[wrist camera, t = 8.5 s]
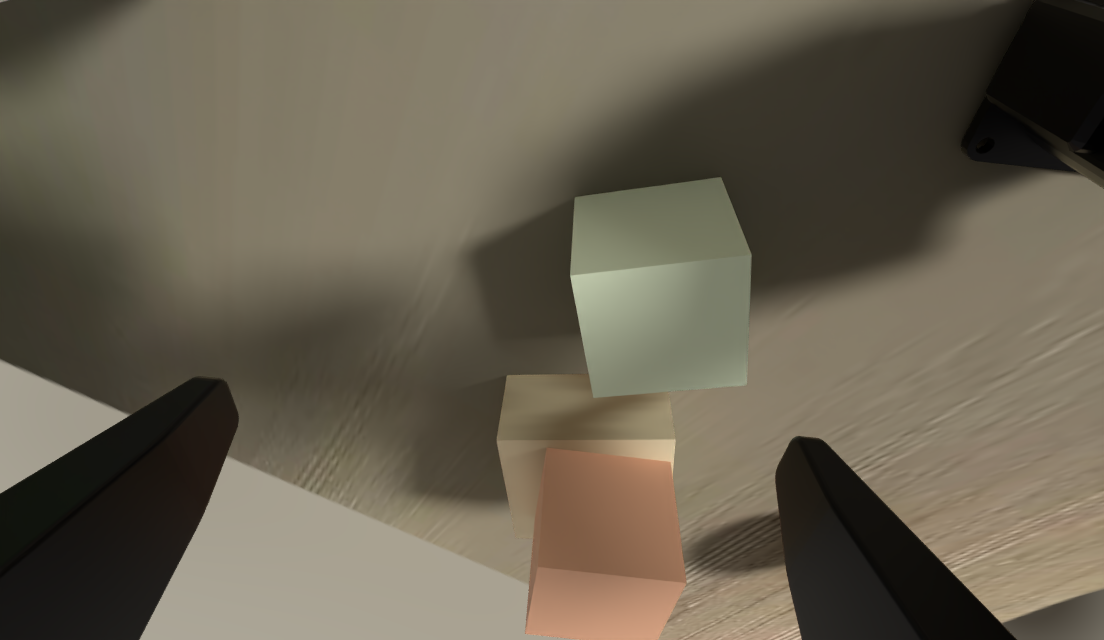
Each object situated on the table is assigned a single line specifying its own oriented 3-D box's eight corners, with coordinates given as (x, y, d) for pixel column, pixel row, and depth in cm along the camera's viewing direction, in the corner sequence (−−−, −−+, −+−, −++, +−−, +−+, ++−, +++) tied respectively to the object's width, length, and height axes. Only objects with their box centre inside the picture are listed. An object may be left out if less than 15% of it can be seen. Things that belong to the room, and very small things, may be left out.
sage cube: (720, 176, 20) (751, 254, 16) (720, 294, 23) (746, 385, 19) (575, 196, 21) (570, 275, 17) (593, 308, 24) (593, 397, 20)
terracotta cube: (670, 461, 23) (686, 583, 19) (644, 530, 27) (653, 647, 23) (546, 447, 23) (537, 566, 19) (534, 518, 26) (525, 633, 22)
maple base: (665, 368, 26) (675, 439, 23) (658, 468, 30) (666, 539, 27) (507, 370, 26) (496, 440, 23) (523, 468, 31) (515, 538, 27)
